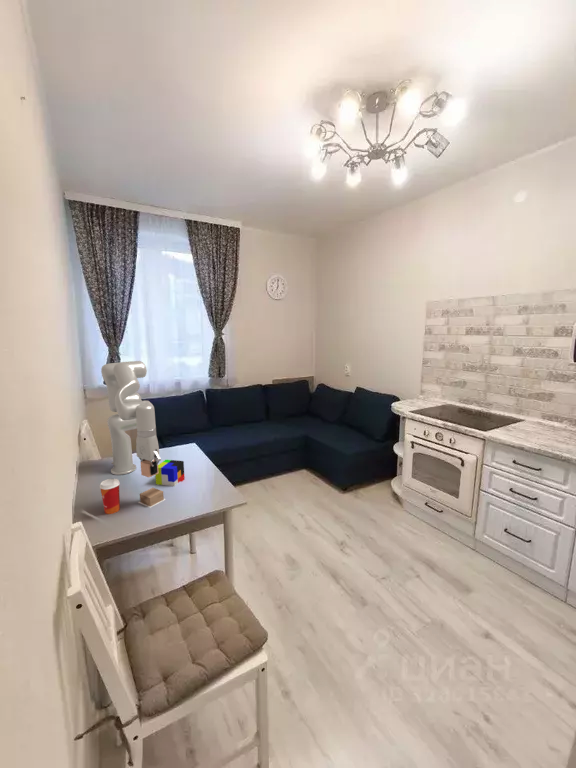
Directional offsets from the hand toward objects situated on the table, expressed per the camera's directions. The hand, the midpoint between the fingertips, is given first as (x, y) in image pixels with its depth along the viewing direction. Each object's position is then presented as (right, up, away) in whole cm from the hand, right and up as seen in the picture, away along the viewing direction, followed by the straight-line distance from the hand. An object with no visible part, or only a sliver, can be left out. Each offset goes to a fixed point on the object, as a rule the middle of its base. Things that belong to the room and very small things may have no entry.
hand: (149, 472), depth 154 cm
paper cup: (-14, -16, -5) cm, 22 cm away
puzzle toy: (+2, -11, +23) cm, 25 cm away
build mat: (-1, -14, +5) cm, 15 cm away
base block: (0, -14, +3) cm, 14 cm away
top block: (0, -1, 0) cm, 1 cm away
